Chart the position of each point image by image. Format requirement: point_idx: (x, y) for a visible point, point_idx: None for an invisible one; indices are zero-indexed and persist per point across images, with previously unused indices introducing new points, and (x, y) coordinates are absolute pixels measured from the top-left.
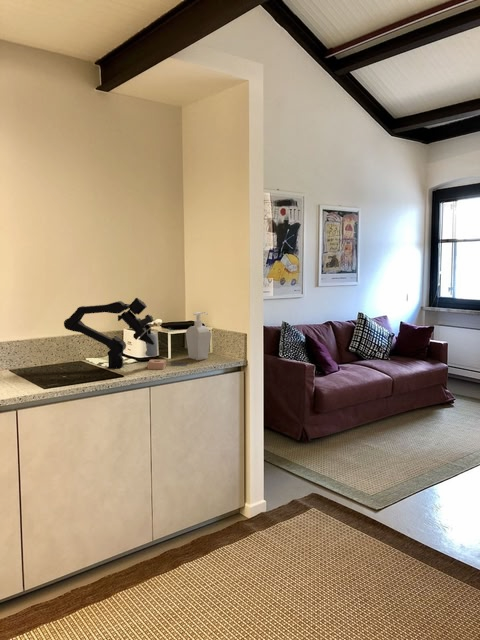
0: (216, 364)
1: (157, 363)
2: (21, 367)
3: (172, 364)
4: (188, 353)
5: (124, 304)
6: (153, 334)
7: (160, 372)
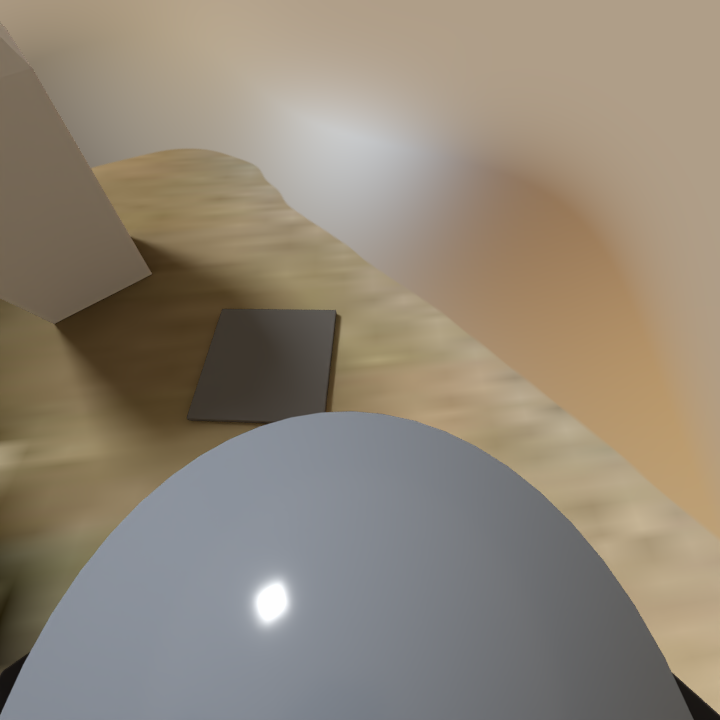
0: (272, 196)
1: None
2: None
3: (267, 402)
4: (18, 305)
5: None
6: (254, 619)
7: (543, 467)
